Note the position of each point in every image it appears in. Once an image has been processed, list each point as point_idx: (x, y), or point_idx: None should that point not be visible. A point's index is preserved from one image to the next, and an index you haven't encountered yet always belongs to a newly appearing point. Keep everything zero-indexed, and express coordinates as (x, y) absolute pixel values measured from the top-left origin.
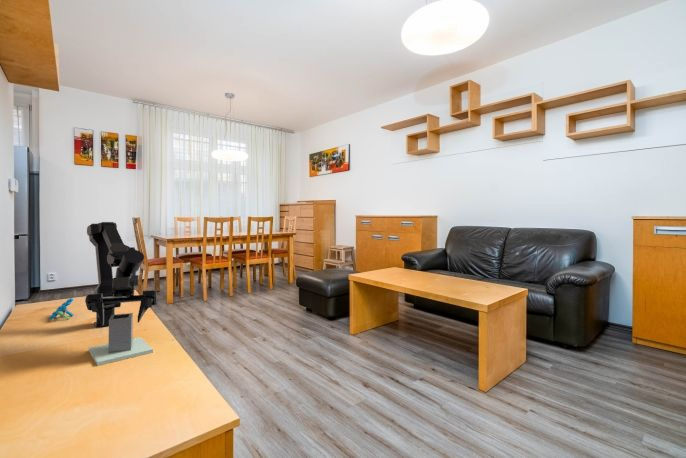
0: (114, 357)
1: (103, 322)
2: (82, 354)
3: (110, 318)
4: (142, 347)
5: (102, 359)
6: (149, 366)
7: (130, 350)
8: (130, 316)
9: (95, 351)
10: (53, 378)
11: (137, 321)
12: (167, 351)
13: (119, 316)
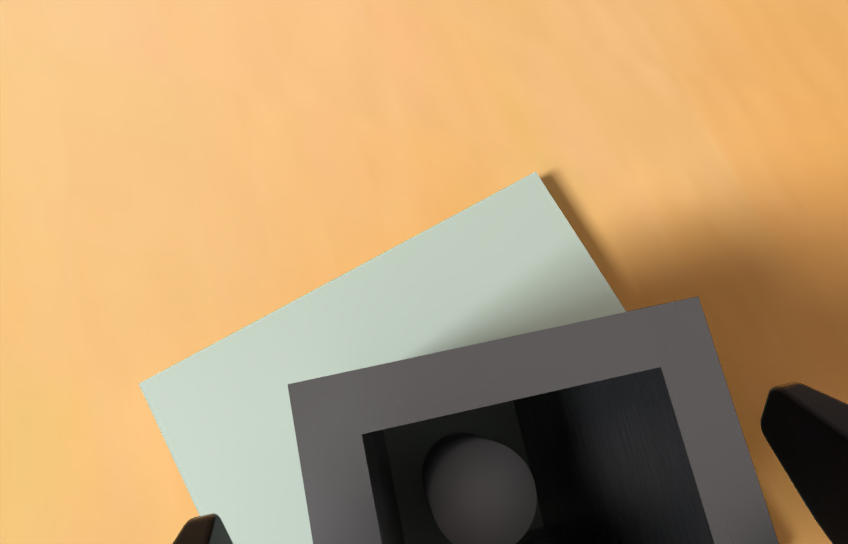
0: (438, 243)
1: (808, 460)
2: (771, 466)
3: (720, 418)
4: (252, 454)
5: (521, 221)
6: (137, 88)
7: None
8: (335, 520)
9: None
10: (717, 44)
11: (222, 523)
12: (19, 384)
13: None
